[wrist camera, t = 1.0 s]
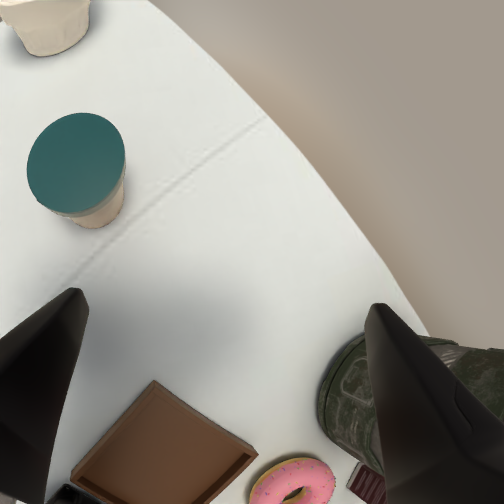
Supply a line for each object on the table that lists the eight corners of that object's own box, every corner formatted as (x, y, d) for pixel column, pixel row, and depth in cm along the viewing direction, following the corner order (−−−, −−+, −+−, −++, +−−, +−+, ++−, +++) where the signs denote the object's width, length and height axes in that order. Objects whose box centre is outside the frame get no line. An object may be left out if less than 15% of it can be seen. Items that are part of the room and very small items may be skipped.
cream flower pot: (101, 59, 26) (99, -14, 15) (1, 81, 21) (-29, 21, 11) (109, -6, 26) (114, -69, 16) (22, 12, 21) (9, -45, 11)
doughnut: (276, 524, 29) (290, 542, 25) (225, 493, 27) (236, 514, 23) (337, 474, 33) (355, 488, 29) (296, 436, 31) (314, 452, 27)
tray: (169, 523, 25) (172, 534, 23) (71, 470, 22) (69, 480, 20) (252, 446, 29) (259, 454, 27) (154, 379, 26) (155, 386, 24)
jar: (92, 242, 25) (69, 226, 16) (53, 198, 24) (19, 165, 15) (136, 196, 27) (136, 160, 18) (97, 155, 26) (83, 105, 17)
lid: (73, 240, 17) (67, 237, 16) (17, 172, 16) (8, 164, 14) (145, 168, 19) (146, 158, 18) (87, 108, 18) (84, 95, 16)
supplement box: (344, 488, 33) (418, 542, 18) (357, 461, 34) (439, 511, 19) (382, 482, 36) (452, 524, 21) (394, 458, 36) (470, 495, 22)
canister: (409, 409, 37) (570, 458, 11) (322, 463, 32) (495, 574, 6) (403, 311, 37) (605, 323, 11) (303, 356, 32) (572, 444, 5)
